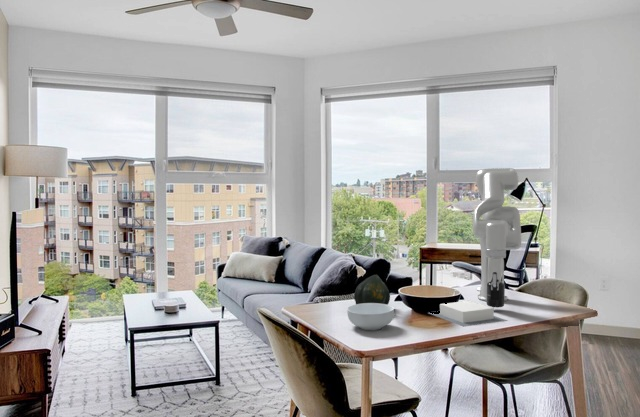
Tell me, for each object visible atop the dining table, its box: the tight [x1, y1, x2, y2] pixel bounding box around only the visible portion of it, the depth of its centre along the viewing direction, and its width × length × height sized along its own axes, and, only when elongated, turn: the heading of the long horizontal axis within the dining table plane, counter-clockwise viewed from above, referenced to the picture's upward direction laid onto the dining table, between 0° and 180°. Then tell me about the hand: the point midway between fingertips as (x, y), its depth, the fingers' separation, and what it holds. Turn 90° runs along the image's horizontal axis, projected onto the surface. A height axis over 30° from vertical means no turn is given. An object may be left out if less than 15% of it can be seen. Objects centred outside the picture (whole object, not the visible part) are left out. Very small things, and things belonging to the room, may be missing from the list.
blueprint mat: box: [428, 312, 508, 327], centre depth 195 cm, size 22×20×1 cm
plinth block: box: [439, 300, 495, 323], centre depth 194 cm, size 14×14×4 cm
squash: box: [353, 274, 391, 305], centre depth 209 cm, size 14×15×15 cm
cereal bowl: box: [346, 303, 395, 331], centre depth 183 cm, size 17×17×7 cm
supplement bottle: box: [485, 277, 506, 308], centre depth 203 cm, size 7×7×12 cm
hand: (495, 297), depth 203 cm, fingers closed on supplement bottle, 6 cm apart
